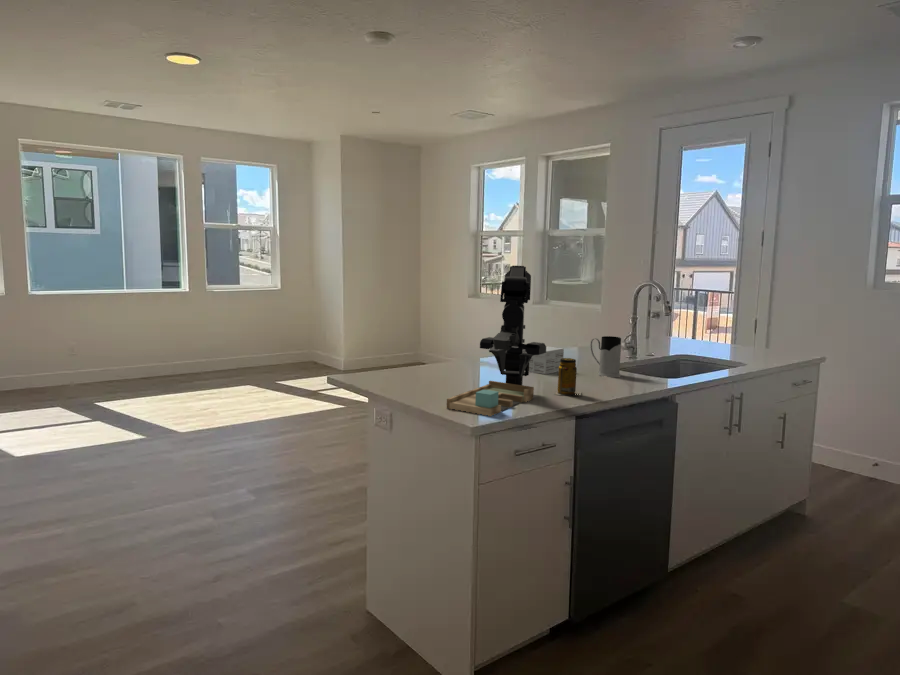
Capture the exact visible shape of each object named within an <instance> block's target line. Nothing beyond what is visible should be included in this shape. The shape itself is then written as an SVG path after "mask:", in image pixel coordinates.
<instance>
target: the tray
mask: <svg viewBox="0 0 900 675" xmlns="http://www.w3.org/2000/svg"><path fill="white" fill-rule="evenodd" d="M481 390H491V391H497V392H499V394H498V405H497V406H494V407H492V408H487V407H481V406H475V401H476V392H478V391H481ZM534 391H535V388H534V386H529V385H523V384H522V385H516V384H510V383H506V382H502V381H494V380H489V381H488V383H487V384H485V385H482V386H479V387H477V388H474V389H473V388H472V389H471V390H468V391H465V392H462V393H459V394H457V395H453V396H450V397H448V398H446V409H447V408H449V409H448V410H452V409H455V410H454V411H458V410H461V411H460V412H463V411H466V412H465V413H469V412H472V413H471V414H475V413H477V414H476V415H480V414H482V415H481V416H486V415H488V417H492V415H493V416H494V414H495V415H497V414H499V413H501V411H502V412H504V411H505V410H509V409H511V408H513V407H516V406H518V405H519V403H520V404H522V403H528V402H530V401H532V400H534V393H535V392H534ZM527 401H528V402H527ZM521 402H522V403H521ZM510 407H511V408H510Z"/></svg>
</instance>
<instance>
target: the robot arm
mask: <svg viewBox="0 0 900 675" xmlns="http://www.w3.org/2000/svg"><path fill="white" fill-rule="evenodd" d="M531 288H532V275H531V274H530V273H529V272H528V271H527V267H526V266H524V265H511V266H509V270H508V271H507V272H506V273H505V275H504V281H503V280H502V281H501V288H500V300H499V301H500V303H505V304H504V305H503V308H504V309H503V311H502V314H501V318H502V321H503V324H502V325H501V327H500V331H499V332H498V333H497V334H496V335H495V336H493V337H491V336H489V337H485V338H482V339H480V341H479V349H483V350H488V352H489V353H491V354H492V355H493V356H494V358H495V360H496V362H497V363H496V364H497V367H498V370H499V373H500V375H502V376H505V383H510V384H516V385H523V378H524V377H527V376H530V375H529V374H530V372H529V361H530V359H531V358H532V356H534V355H540V354H544V353H546V344H545V343H544V342H537V341H532V342H528V343H525V342H526V340H525V338H524V330H526V325H525V324H524V322H525V321H524V320H525V319H524V318H525V305H524V304H528V303H529V301H531Z"/></svg>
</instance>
